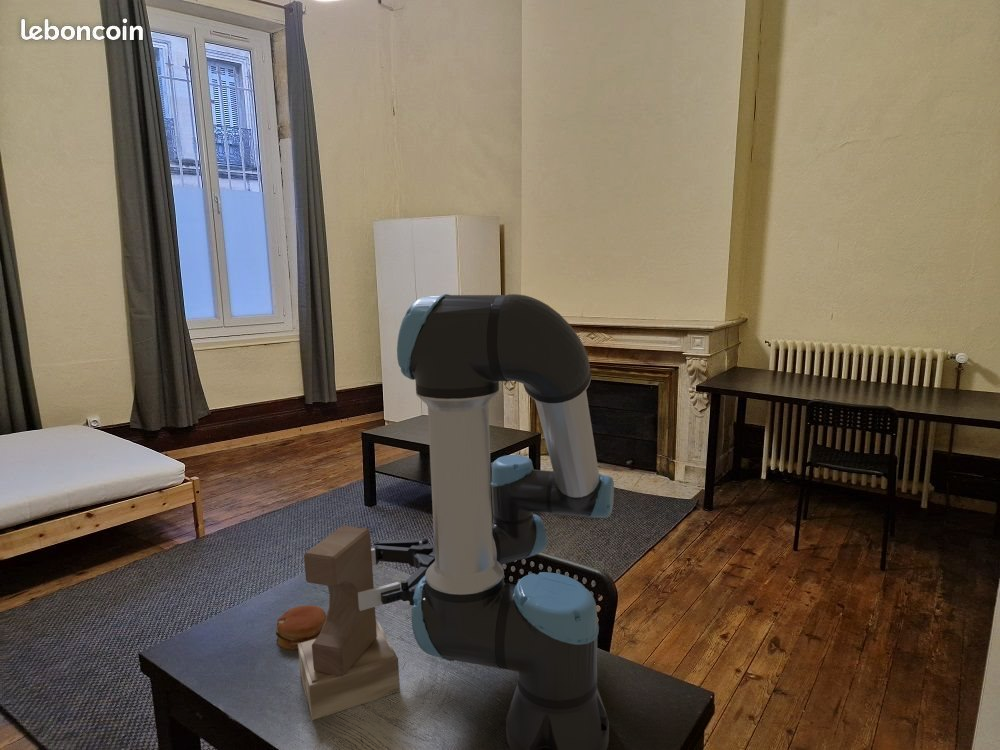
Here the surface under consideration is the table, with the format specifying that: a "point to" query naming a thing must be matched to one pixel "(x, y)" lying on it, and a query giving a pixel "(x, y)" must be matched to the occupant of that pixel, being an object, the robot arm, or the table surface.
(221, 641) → the table surface
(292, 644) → the burger
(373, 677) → the plinth
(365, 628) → the decorative block
